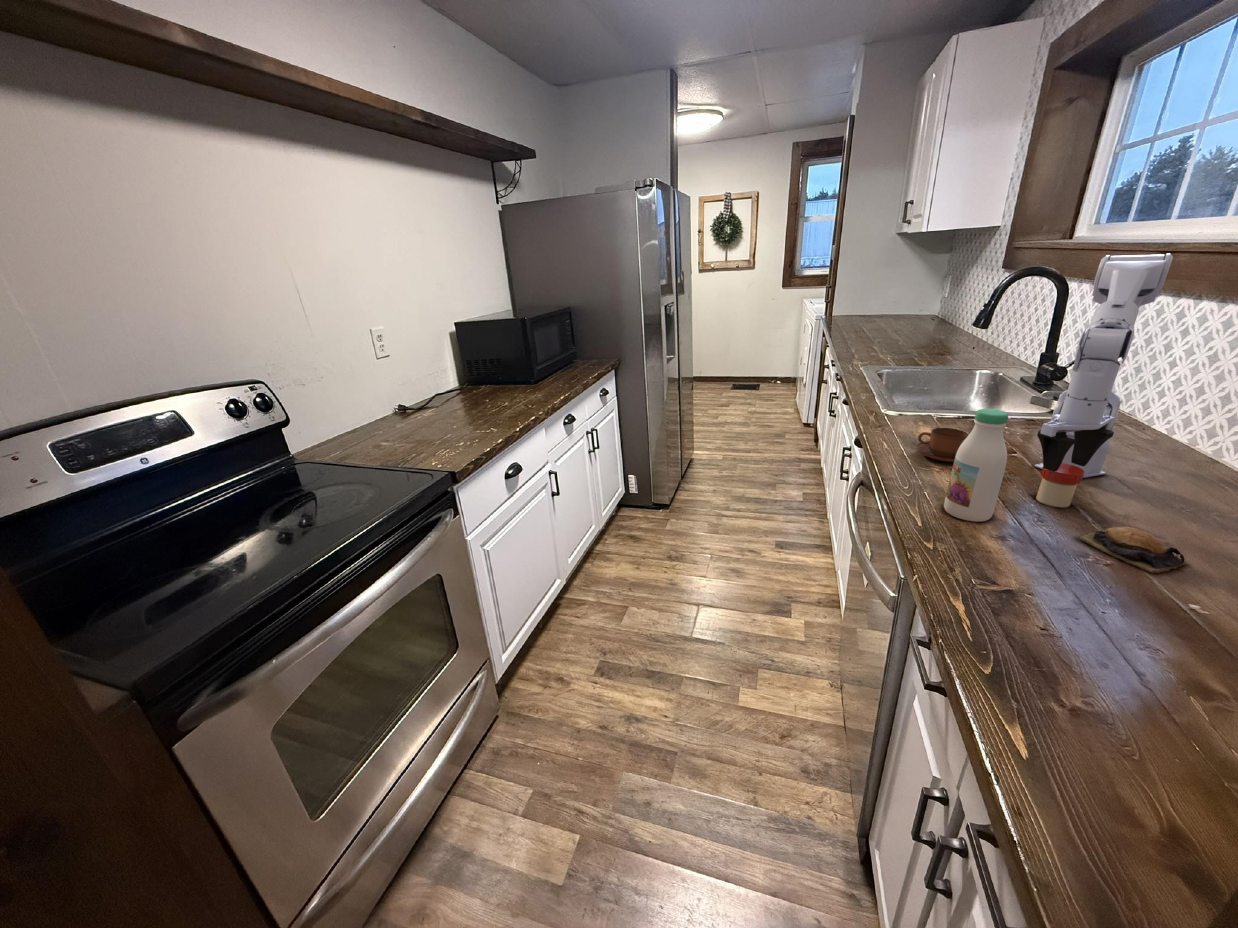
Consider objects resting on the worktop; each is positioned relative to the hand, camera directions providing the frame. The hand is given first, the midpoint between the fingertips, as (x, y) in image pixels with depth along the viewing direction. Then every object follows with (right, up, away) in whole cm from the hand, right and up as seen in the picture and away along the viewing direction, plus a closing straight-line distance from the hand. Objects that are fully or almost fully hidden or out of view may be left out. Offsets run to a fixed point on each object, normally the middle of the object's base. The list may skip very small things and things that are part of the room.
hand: (1064, 466), depth 94 cm
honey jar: (0, -7, +3) cm, 7 cm away
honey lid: (0, -1, 0) cm, 1 cm away
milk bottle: (-18, -9, 0) cm, 20 cm away
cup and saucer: (-6, +2, +25) cm, 26 cm away
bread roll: (-2, -14, -14) cm, 19 cm away
